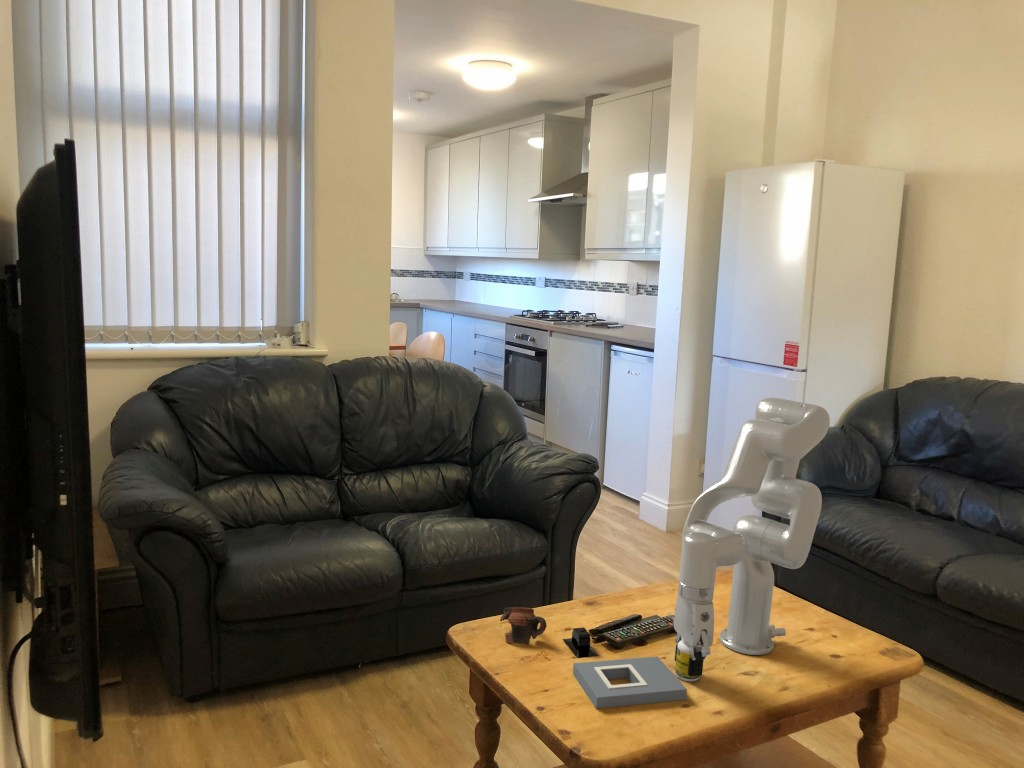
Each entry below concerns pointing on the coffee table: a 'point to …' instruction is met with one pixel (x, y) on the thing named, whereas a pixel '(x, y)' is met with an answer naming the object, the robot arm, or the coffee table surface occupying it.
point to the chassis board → (643, 673)
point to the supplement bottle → (684, 661)
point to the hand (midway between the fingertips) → (688, 667)
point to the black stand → (580, 643)
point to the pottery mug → (523, 625)
